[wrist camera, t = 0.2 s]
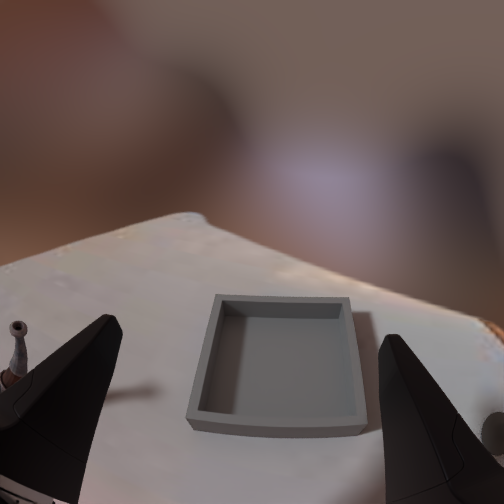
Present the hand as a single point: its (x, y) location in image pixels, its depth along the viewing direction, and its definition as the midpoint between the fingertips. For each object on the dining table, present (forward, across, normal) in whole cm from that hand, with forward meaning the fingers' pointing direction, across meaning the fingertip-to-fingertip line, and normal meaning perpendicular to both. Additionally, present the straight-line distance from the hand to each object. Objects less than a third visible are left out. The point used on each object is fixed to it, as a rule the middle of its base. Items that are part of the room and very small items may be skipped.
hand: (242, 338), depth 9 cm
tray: (+9, -1, +16) cm, 19 cm away
